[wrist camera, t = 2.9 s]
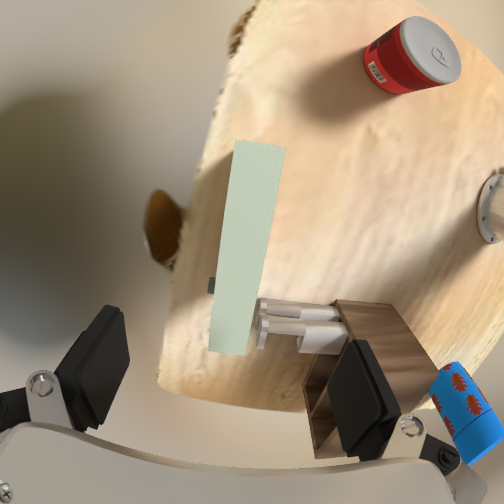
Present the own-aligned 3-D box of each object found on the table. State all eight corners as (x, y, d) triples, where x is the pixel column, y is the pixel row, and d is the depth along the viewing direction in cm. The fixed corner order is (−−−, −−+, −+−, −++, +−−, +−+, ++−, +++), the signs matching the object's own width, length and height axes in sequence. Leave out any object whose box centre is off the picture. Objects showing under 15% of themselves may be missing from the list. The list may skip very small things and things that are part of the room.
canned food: (407, 104, 27) (459, 97, 17) (356, 79, 26) (398, 56, 16) (415, 60, 24) (463, 43, 14) (365, 34, 24) (404, 3, 13)
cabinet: (261, 290, 37) (267, 378, 22) (391, 304, 38) (440, 373, 23) (241, 380, 44) (239, 458, 29) (350, 385, 45) (372, 452, 30)
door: (234, 142, 30) (218, 137, 15) (268, 147, 30) (285, 147, 15) (216, 266, 36) (196, 348, 21) (246, 271, 36) (244, 355, 21)
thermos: (429, 373, 46) (474, 456, 23) (464, 354, 45) (513, 426, 21) (424, 398, 50) (459, 472, 27) (456, 380, 48) (496, 446, 25)
